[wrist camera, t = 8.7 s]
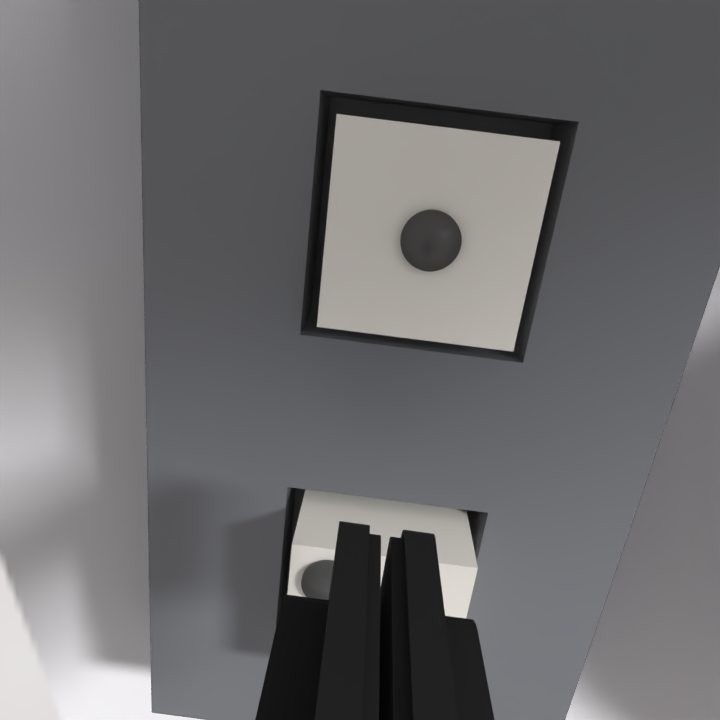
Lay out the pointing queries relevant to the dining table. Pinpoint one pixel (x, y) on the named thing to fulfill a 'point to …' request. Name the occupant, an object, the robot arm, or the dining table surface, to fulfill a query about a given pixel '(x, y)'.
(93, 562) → the dining table surface
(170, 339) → the button panel
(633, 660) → the dining table surface
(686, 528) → the dining table surface
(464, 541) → the button three dots
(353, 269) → the button one dot
